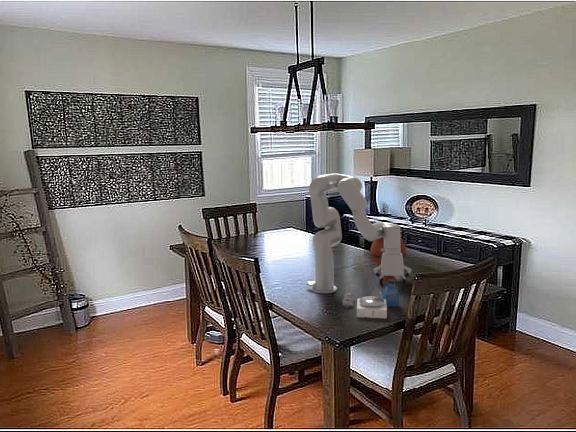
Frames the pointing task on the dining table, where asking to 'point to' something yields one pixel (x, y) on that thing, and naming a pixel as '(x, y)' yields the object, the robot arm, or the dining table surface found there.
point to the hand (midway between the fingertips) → (392, 286)
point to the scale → (371, 310)
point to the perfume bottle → (391, 294)
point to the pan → (371, 301)
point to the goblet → (377, 253)
